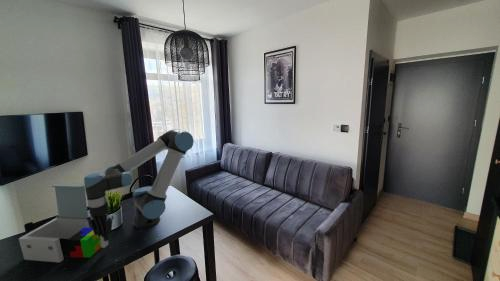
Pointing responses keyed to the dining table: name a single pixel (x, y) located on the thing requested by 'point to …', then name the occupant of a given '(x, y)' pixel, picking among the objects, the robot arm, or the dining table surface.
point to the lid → (71, 201)
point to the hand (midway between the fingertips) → (105, 245)
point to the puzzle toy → (84, 243)
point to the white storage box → (50, 239)
